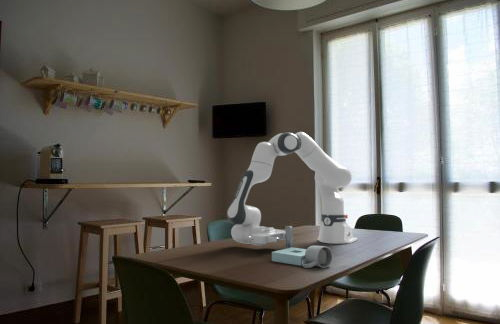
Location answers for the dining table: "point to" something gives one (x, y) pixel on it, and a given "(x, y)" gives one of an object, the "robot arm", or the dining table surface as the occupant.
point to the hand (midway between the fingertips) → (284, 238)
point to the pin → (289, 237)
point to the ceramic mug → (317, 257)
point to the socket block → (289, 256)
